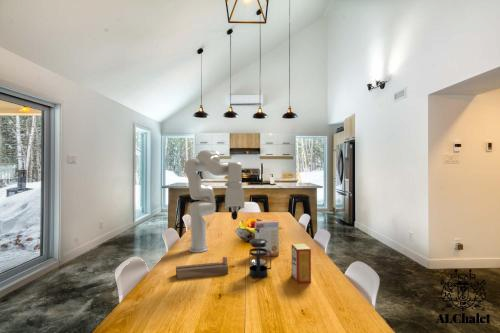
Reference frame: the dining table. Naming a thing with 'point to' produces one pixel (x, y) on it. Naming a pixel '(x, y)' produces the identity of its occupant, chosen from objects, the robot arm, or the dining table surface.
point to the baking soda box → (301, 263)
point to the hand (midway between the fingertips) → (234, 219)
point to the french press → (258, 258)
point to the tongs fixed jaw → (202, 271)
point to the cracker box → (269, 236)
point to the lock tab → (224, 260)
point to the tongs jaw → (196, 266)
